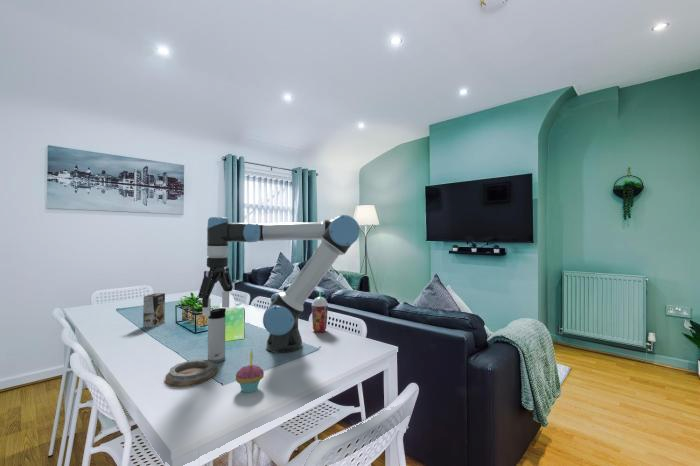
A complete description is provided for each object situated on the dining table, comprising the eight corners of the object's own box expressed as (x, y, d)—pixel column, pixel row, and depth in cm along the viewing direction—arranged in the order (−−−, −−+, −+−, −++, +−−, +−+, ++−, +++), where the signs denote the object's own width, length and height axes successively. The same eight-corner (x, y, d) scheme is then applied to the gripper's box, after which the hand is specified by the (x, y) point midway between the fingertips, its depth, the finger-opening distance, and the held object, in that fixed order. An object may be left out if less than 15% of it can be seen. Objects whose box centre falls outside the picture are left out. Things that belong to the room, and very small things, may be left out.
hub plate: (225, 367, 117) (225, 359, 117) (199, 388, 102) (199, 379, 102) (185, 364, 120) (185, 357, 120) (153, 384, 104) (153, 376, 104)
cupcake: (239, 383, 105) (240, 346, 105) (265, 382, 106) (266, 346, 106) (232, 396, 97) (232, 356, 97) (260, 395, 97) (261, 356, 97)
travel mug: (219, 363, 121) (220, 310, 121) (204, 362, 122) (204, 309, 122) (229, 357, 127) (229, 307, 127) (214, 356, 128) (214, 306, 128)
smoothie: (331, 330, 163) (331, 291, 163) (321, 334, 156) (321, 293, 156) (318, 327, 168) (318, 289, 167) (307, 331, 160) (308, 291, 160)
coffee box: (154, 327, 165) (155, 296, 165) (142, 327, 165) (142, 296, 165) (165, 322, 174) (165, 293, 174) (153, 322, 175) (153, 292, 175)
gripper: (225, 254, 137) (224, 303, 137) (188, 259, 112) (187, 319, 112) (241, 254, 136) (240, 304, 136) (207, 259, 111) (206, 320, 111)
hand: (216, 311), depth 124 cm, fingers open, 13 cm apart
